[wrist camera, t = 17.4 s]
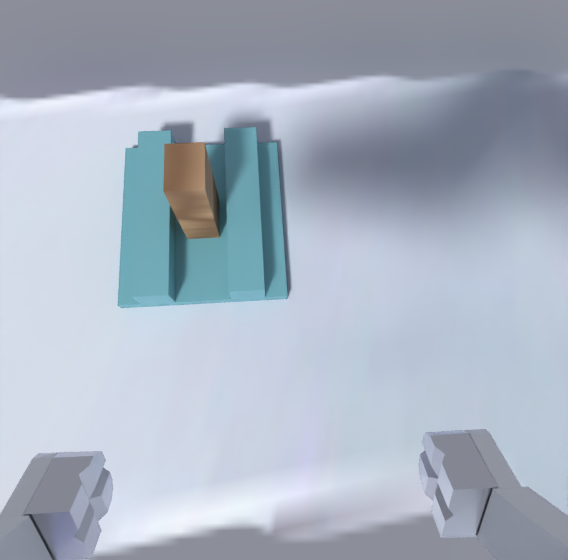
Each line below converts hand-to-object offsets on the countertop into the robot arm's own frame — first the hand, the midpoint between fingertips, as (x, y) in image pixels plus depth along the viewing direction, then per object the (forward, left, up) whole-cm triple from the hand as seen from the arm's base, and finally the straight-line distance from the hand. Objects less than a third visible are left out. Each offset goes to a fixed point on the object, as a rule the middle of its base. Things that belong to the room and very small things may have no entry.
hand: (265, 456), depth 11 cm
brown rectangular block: (+5, -19, -25) cm, 31 cm away
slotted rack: (+5, -19, -26) cm, 32 cm away
